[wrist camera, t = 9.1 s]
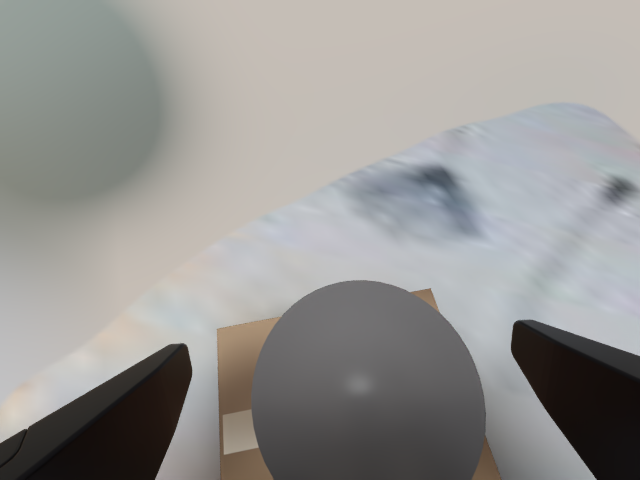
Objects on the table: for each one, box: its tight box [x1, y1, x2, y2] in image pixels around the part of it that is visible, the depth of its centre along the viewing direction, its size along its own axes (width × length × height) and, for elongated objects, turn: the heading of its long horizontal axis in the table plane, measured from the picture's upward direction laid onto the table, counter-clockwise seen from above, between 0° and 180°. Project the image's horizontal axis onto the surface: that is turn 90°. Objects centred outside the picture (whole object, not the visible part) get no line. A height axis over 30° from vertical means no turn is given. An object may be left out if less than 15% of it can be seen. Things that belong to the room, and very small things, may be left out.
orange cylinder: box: [251, 280, 486, 480], centre depth 10 cm, size 4×4×11 cm
